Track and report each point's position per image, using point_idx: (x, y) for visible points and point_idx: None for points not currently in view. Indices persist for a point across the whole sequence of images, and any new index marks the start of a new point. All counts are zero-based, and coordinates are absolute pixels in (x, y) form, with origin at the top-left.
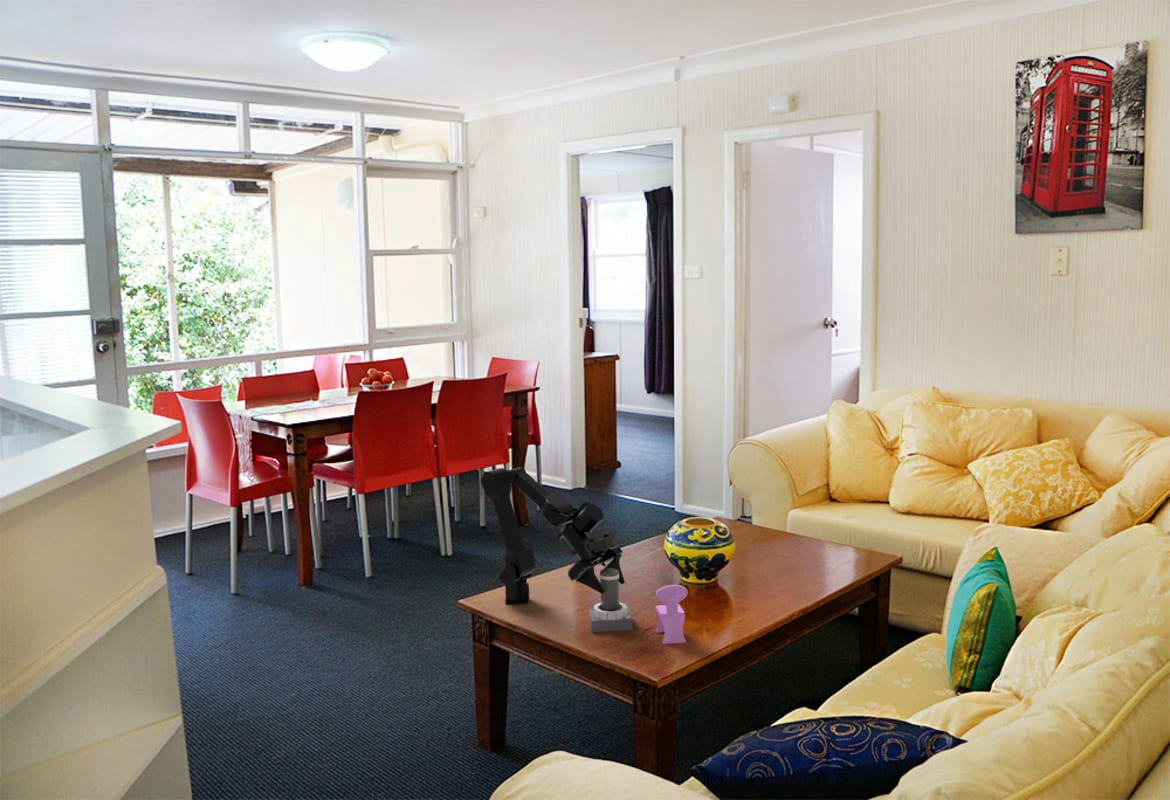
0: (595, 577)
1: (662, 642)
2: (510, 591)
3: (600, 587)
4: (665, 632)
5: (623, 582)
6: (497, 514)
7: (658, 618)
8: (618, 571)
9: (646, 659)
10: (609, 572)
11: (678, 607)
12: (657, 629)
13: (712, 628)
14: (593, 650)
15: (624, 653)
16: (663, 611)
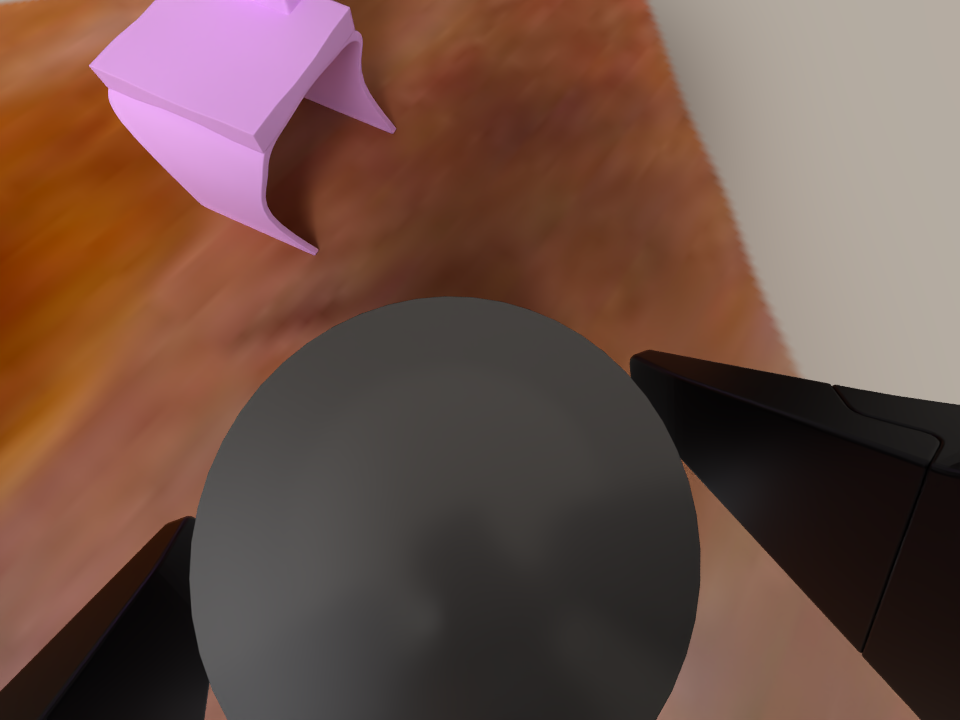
0: (891, 424)
1: (392, 127)
2: None
3: (713, 368)
4: (365, 84)
5: (194, 524)
6: None
7: (267, 207)
8: (278, 370)
9: (563, 55)
10: (505, 437)
11: (148, 30)
12: (304, 241)
13: (51, 132)
14: (729, 250)
15: (612, 146)
16: (295, 31)
